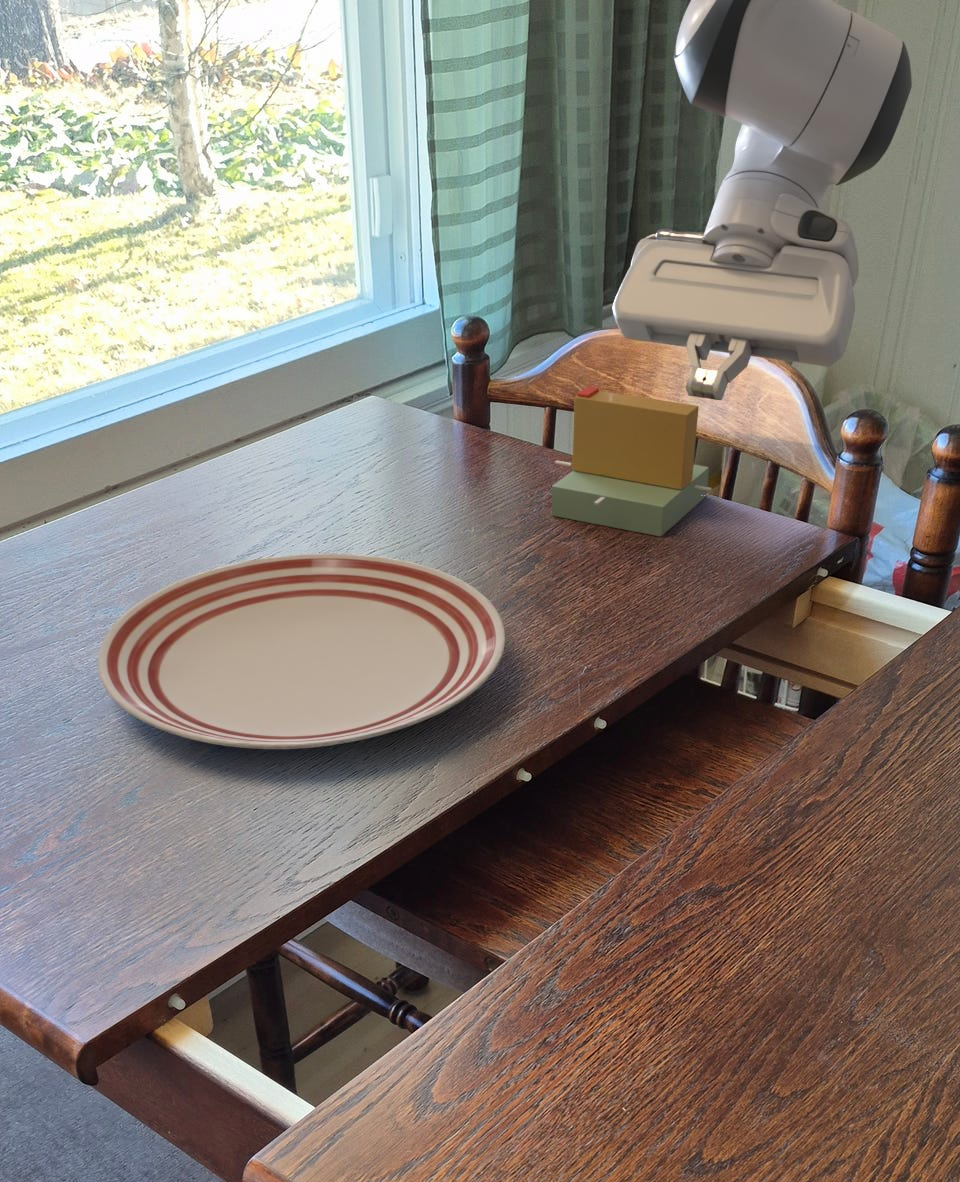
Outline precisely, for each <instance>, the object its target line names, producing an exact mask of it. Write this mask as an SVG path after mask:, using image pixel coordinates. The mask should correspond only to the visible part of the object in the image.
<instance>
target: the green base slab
mask: <svg viewBox="0 0 960 1182" xmlns="http://www.w3.org/2000/svg"><path fill="white" fill-rule="evenodd" d="M554 464H555V465H561V466H566V467H571V466H572V462H568V461H563V460H555V461H554ZM709 472H710V467H709V466H704V465H699V464H694V465H693V477H692V481H691V482H690V483H689V484H688V485H686V486H685V487H684V488H683V489H682V490H679V489H673V488H668V487H662V486H657V485H651V484H645V483H640V482H634V481H629V480H623V479H618V478H612V477H606V476H601V475H595V474H590V473H584V472H578V471H573V470H572V471H571V472H569V473H568V474H567V475H565V476H563V477H562V478H561V479H560V480H558V481H557V482H556V483H554V484H553V485H552V487H551V516H552V517H557V518H561V519H567V520H572V521H577V522H582V523H586V524H587V523H588V524H591V525H598V526H603V527H607V528H612V529H613V528H614V529H618V530H624V531H629V532H634V533H639V534H645V535H650V536H655V537H659V538H660V537H663V536H664V535H665V534H666V533H667V532H668V531H670V529H672V528H673V527H674V526H675V525H676V524H677V523H678V522H680V521H681V520H682V519H683V518H684V517H685V516H686V515H687V514H689V512H691V510H693V509H694V508H695V507H696V506H697V505H698V504H700V503H701V502H702V501H703V500H704V499H705V498H706V497H707V496H708V495H707V494H708V492H711V491H712V489H713V488H712V487H709V486H708V483H709ZM701 495H703V496H701ZM704 495H706V496H704Z"/></svg>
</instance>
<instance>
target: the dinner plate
mask: <svg viewBox="0 0 960 1182" xmlns="http://www.w3.org/2000/svg"><path fill="white" fill-rule="evenodd" d="M505 646H506V629H505V625H504V622H503V619H502V618H501V615H500V613H499V612H498V610H497V609H496V607H495V606H494V604H493V603H492V602H491V601H490V600H489V599H488V598H487V597H486V596H485V595H484V594H483V593H481V591H479V590H478V589H476V588H475V587H474V586H472V585H470V584H469V583H467V582H465V581H464V580H462V579H460V578H458V577H457V576H454V575H452V574H450V573H447V572H445V571H442V570H439V569H436V568H434V567H431V566H427V565H423V564H419V563H416V562H412V561H407V560H402V559H398V558H391V557H384V556H378V555H377V556H376V555H370V554H369V555H366V554H353V553H303V554H302V553H301V554H299V553H298V554H289V555H277V556H270V557H263V558H256V559H251V560H245V561H240V562H235V563H231V564H226V565H222V566H219V567H215V568H211V569H209V570H205V571H203V572H199V573H196V574H193V575H191V576H187V577H186V578H183V579H180V580H178V581H176V582H173V583H171V584H169V585H167V586H165V587H163V588H161V589H159V590H157V591H155V592H154V593H151V594H149V595H148V596H146V597H145V598H143V599H142V600H140V601H139V602H137V603H136V604H134V605H133V606H132V607H131V608H129V609H128V610H127V611H125V612H124V613H123V614H122V615H121V616H120V617H119V618H118V619H117V620H116V621H115V622H114V624H113V625H112V626H111V628H110V629H109V630H108V632H107V633H106V634H105V637H104V639H103V641H102V643H101V646H100V649H99V651H98V656H97V671H98V675H99V680H100V681H101V684H102V686H103V687H104V689H105V691H106V693H107V694H108V696H110V698H111V699H112V700H113V701H114V702H115V703H116V704H117V705H118V706H119V707H120V708H122V709H123V710H124V711H125V712H127V714H129V715H131V716H132V717H134V718H135V719H138V720H140V721H141V722H143V723H145V724H147V725H148V726H151V727H154V728H157V729H158V730H161V731H164V732H167V733H169V734H172V735H175V736H177V737H178V736H179V737H182V738H184V739H188V740H192V741H197V742H202V743H207V744H211V745H219V746H224V747H233V748H245V749H257V750H292V749H293V750H295V749H296V750H297V749H311V748H312V749H313V748H319V747H329V746H335V745H341V744H348V743H352V742H353V743H354V742H357V741H362V740H366V739H371V738H375V737H379V736H383V735H386V734H389V733H393V732H396V731H399V730H403V729H406V728H408V727H411V726H414V725H416V724H419V723H421V722H424V721H425V720H428V719H430V718H433V717H435V716H438V715H440V714H441V713H443V712H445V711H447V710H449V709H450V708H452V707H454V706H456V705H457V704H459V703H460V702H463V700H464V701H465V699H467V698H469V697H470V696H472V694H473V693H475V692H476V691H477V690H478V689H479V688H480V687H482V686H483V684H484V683H486V681H487V680H488V679H489V678H490V677H491V676H492V674H493V673H494V672H495V671H496V669H497V667H498V666H499V664H500V663H501V660H502V658H503V655H504V653H505Z"/></svg>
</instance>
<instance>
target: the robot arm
mask: <svg viewBox="0 0 960 1182" xmlns="http://www.w3.org/2000/svg"><path fill="white" fill-rule="evenodd" d="M673 60H674V64H675V68H676V71H677V75H678V78H679V80H680V83H681V86H682V88H683V91H684V93H685V95H686V97H687V100H688V102H689V104H690V105H692V106H696V107H698V108H700V109H703V110H705V111H708V112H710V113H713V114H715V115H718V116H721V117H722V118H726V117H728V118H730V119H731V120H733V121H735V122H738V123H739V124H741V126H740V129H739V132H738V135H737V138H736V140H735V146H734V160H733V163H732V166H731V168H730V169H729V171H728V172H727V174H726V175H725V177H724V178H723V180H722V182H721V184H720V187H719V189H718V191H717V195H716V197H715V200H714V204H713V207H712V210H711V212H710V215H709V219H708V222H707V224H706V227H705V230H704V231H703V232H697V231H675V230H673V229H670V228H661V229H658V230H656V233H651V234H649V235H647V236H645V237H644V238H641V239H640V240H639V241H638V243H637V244H636V246H635V249H634V252H633V255H632V257H631V258H632V259H631V262H630V267H629V268H628V269H627V272H626V274H625V276H624V278H623V280H622V282H621V284H620V286H619V288H618V291H617V293H616V296H615V298H614V300H613V304H612V314H613V317H614V321H615V323H616V325H617V328H618V329H619V331H620V332H621V334H622V336H623V337H624V339H627V340H632V341H639V342H646V343H647V342H648V343H653V344H654V343H655V344H662V345H669V346H675V347H676V346H677V347H683V348H686V351H687V357H688V361H689V365H690V371H689V374H688V377H687V380H686V383H685V390H686V392H687V395H688V396H689V397H695V398H702V399H709V400H715V401H719V402H720V401H722V400H723V398H724V397H725V392H726V390H727V388H728V384H731V382H732V381H733V380H734V379H735V378H737V377H738V376H739V375H740V374H741V373H742V372H743V371H744V370H745V369H747V368H748V366H749V363H750V360H751V357H756V358H761V359H762V358H763V359H770V360H777V361H782V362H790V363H798V364H806V365H813V366H819V367H826V368H827V367H832V366H833V365H834V364H836V363H837V362H838V361H839V360H840V359H842V358H843V356H844V354H845V352H846V350H847V346H848V342H849V339H850V337H851V332H852V327H853V323H854V318H855V312H856V311H855V310H856V300H855V292H854V287H855V285H856V283H857V281H858V278H859V268H860V267H859V265H860V263H859V253H858V247H857V242H856V239H855V236H854V235H855V234H854V232H853V230H852V227H851V225H850V224H849V223H848V221H845V220H844V219H842V218H839V217H837V216H834V215H832V214H831V213H828V212H826V211H824V210H822V208H821V207H822V201H823V198H824V196H825V193H826V191H827V190H828V188H829V187H830V186H831V185H835V186H840V185H843V184H844V183H846V182H849V181H850V180H851V181H852V179H854V178H856V177H858V176H860V175H862V174H864V173H865V172H867V171H870V170H871V169H872V168H874V167H875V166H876V165H877V164H878V163H879V162H880V161H881V159H882V158H883V156H884V155H885V154H886V152H887V151H888V149H889V147H890V145H891V143H892V141H893V139H894V136H895V134H896V131H897V129H898V126H899V124H900V122H901V119H902V116H903V113H904V111H905V108H906V104H907V102H908V100H909V96H910V93H911V91H912V87H913V82H912V69H911V61H910V60H911V59H910V55H909V51H908V49H907V46H906V44H905V41H902V40H901V39H900V38H898V37H897V36H896V35H894V34H893V33H892V32H890V31H889V30H887V29H885V28H884V27H882V26H880V25H879V24H877V23H875V22H873V21H871V20H869V19H867V18H866V17H864V16H862V15H861V14H858V13H857V12H855V11H853V10H849V9H847V8H846V7H843V6H842V5H840V4H838V3H836V2H834V1H832V0H690V1H689V3H688V5H687V7H686V10H685V12H684V14H683V17H682V20H681V23H680V26H679V29H678V33H677V36H676V41H675V46H674V50H673ZM710 351H712V352H719V353H725V354H729V356H728V357H727V358H726V360H724V361H723V363H722V364H721V365H720V366H719V367H718V368H717V369H709V368H705V367H704V368H703V367H702V365H701V361H707V359H708V357H709V354H710Z"/></svg>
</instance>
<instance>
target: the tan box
mask: <svg viewBox="0 0 960 1182" xmlns="http://www.w3.org/2000/svg"><path fill="white" fill-rule="evenodd" d="M576 394H577V395H575V396H574V401H573V402H574V404H573V405H574V406H573V431H572V434H573V436H572V437H573V438H572V462H571V470H572V471H578V472H584V473H590V474H595V475H601V476H606V477H612V478H618V479H623V480H629V481H634V482H640V483H645V484H651V485H657V486H662V487H668V488H673V489H679V490H682V489H683V488H684V487H685V486H686V485H688V484H689V483H690V482H691V481H692V477H693V465H695V454H696V443H697V442H696V440H697V431H698V430H697V429H698V417H699V406H698V405H694V404H687V403H682V402H681V403H680V402H674V401H667V400H662V399H656V398H650V397H649V398H648V397H642V396H637V395H630V394H624V393H617V392H610V391H605V390H600V388H599V387H597V386H596V387H595V386H586V387H585V388H583V389H582V390H580V391H579V392H577V393H576Z"/></svg>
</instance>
